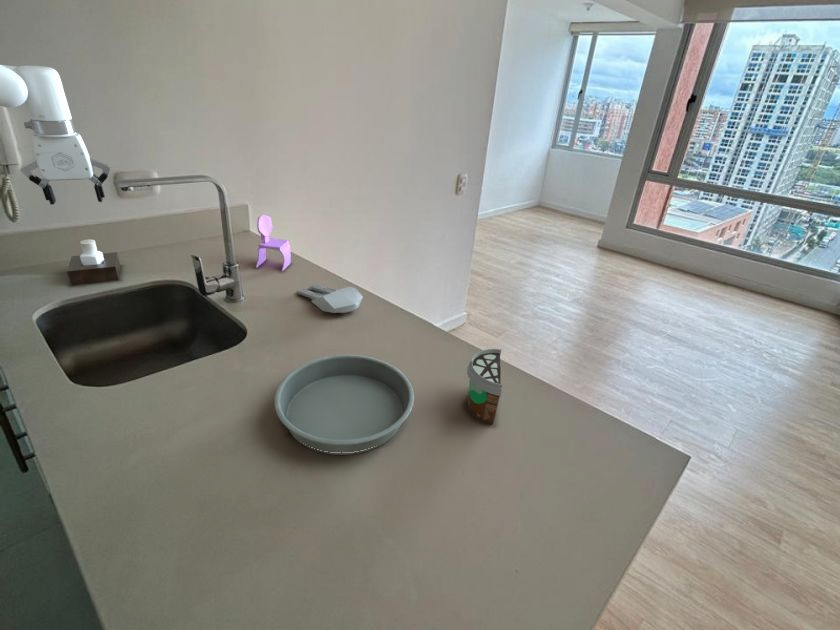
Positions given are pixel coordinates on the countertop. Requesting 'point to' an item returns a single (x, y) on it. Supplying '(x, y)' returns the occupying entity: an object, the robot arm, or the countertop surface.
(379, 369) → the cake pan
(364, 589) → the countertop surface
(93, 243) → the pepper shaker
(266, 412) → the countertop surface
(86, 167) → the robot arm
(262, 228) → the toy chair
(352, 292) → the turret
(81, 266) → the holder
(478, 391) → the food container
